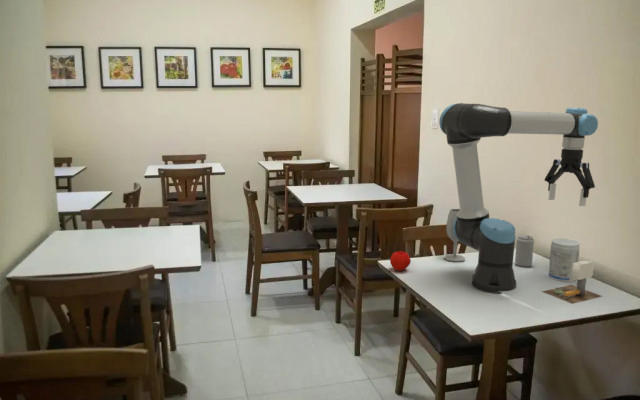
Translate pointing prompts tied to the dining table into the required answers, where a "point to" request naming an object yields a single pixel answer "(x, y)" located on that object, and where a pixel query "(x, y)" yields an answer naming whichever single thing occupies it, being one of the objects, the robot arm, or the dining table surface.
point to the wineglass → (453, 236)
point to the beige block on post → (581, 276)
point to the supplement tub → (563, 259)
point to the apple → (400, 260)
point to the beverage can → (524, 250)
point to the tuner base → (573, 298)
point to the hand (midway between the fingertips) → (566, 202)
